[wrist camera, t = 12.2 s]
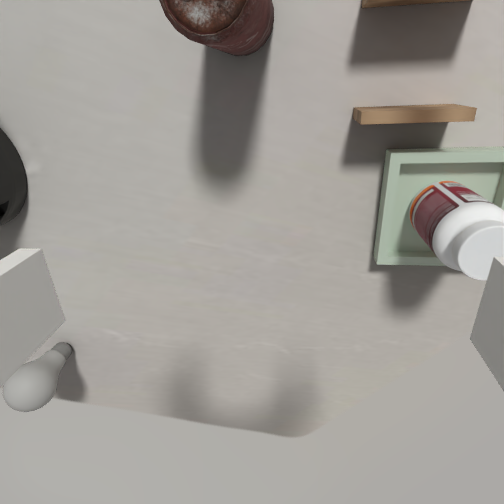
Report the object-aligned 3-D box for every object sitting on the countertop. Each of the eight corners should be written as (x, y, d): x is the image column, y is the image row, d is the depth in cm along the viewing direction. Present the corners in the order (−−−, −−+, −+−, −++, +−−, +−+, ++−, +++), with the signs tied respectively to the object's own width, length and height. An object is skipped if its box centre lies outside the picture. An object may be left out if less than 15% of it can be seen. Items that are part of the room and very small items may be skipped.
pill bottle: (416, 243, 39) (457, 299, 29) (399, 194, 36) (436, 236, 27) (477, 221, 37) (543, 273, 27) (463, 168, 35) (528, 203, 25)
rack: (352, 118, 34) (360, 124, 30) (362, -6, 30) (373, -21, 26) (450, 115, 33) (473, 121, 29) (475, -15, 29) (507, -32, 24)
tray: (373, 255, 41) (376, 264, 39) (386, 149, 35) (391, 153, 33) (485, 257, 39) (494, 267, 37) (516, 146, 34) (529, 150, 32)
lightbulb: (66, 365, 55) (15, 427, 45) (39, 336, 53) (-20, 395, 43) (94, 353, 53) (47, 415, 43) (67, 323, 51) (12, 381, 41)
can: (290, 21, 32) (283, -16, 19) (236, 70, 34) (198, 65, 21) (249, -45, 30) (211, -133, 17) (194, 11, 32) (127, -31, 20)
